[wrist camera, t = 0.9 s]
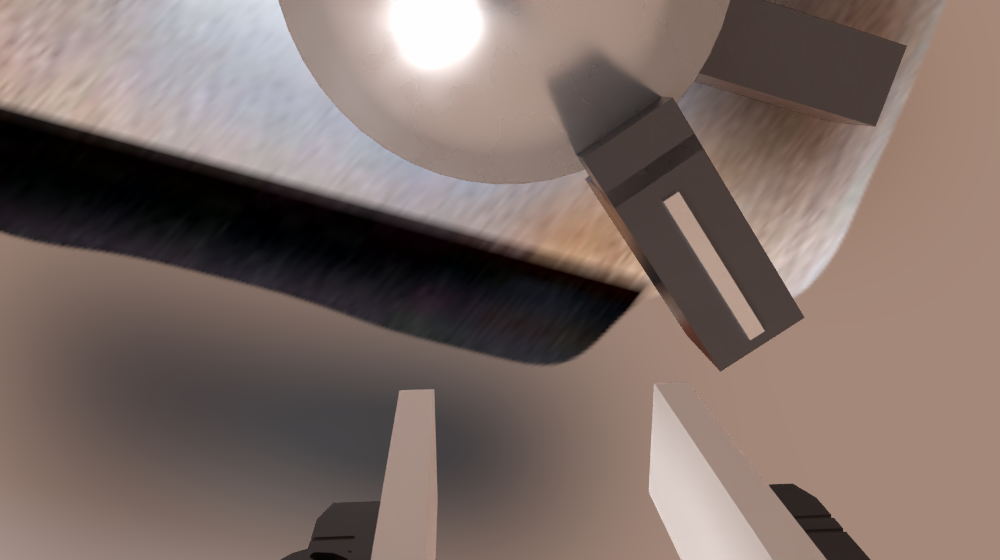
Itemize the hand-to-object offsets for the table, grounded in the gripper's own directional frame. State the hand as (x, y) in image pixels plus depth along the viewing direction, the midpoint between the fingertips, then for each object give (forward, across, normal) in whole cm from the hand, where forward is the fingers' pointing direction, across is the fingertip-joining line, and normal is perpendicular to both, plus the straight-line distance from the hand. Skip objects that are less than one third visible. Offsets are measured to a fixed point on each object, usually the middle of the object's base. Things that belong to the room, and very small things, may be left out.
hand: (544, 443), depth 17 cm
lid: (+14, +2, +9) cm, 16 cm away
